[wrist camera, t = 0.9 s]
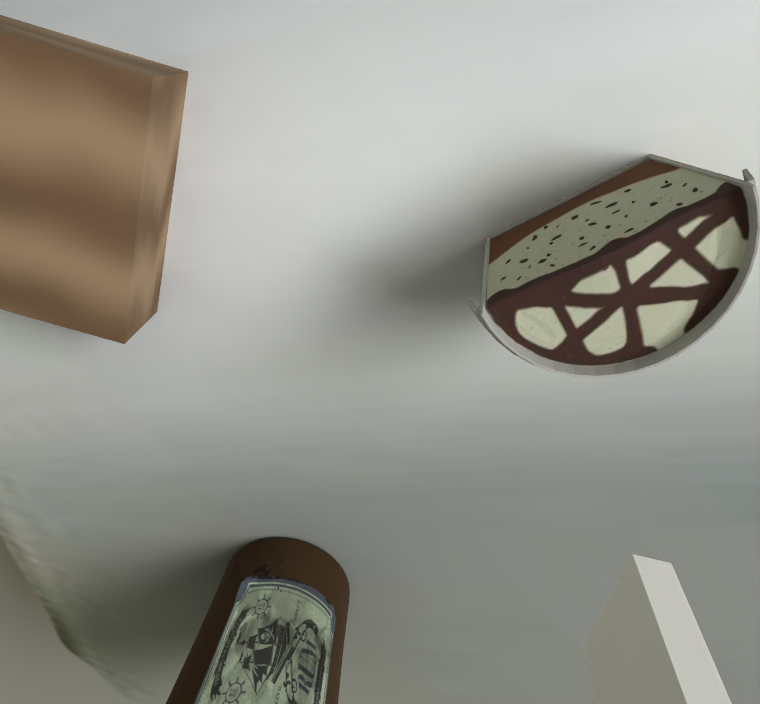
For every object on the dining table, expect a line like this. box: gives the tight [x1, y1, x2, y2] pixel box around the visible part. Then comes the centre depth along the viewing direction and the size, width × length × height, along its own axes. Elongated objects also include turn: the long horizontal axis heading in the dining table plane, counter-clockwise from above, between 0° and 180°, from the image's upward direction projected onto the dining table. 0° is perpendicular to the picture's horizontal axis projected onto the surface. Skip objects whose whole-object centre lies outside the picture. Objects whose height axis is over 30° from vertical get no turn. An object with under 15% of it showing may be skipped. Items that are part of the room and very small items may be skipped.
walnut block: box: [0, 15, 188, 344], centre depth 34 cm, size 14×14×5 cm
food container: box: [468, 154, 760, 378], centre depth 31 cm, size 12×6×10 cm, turn 120°
